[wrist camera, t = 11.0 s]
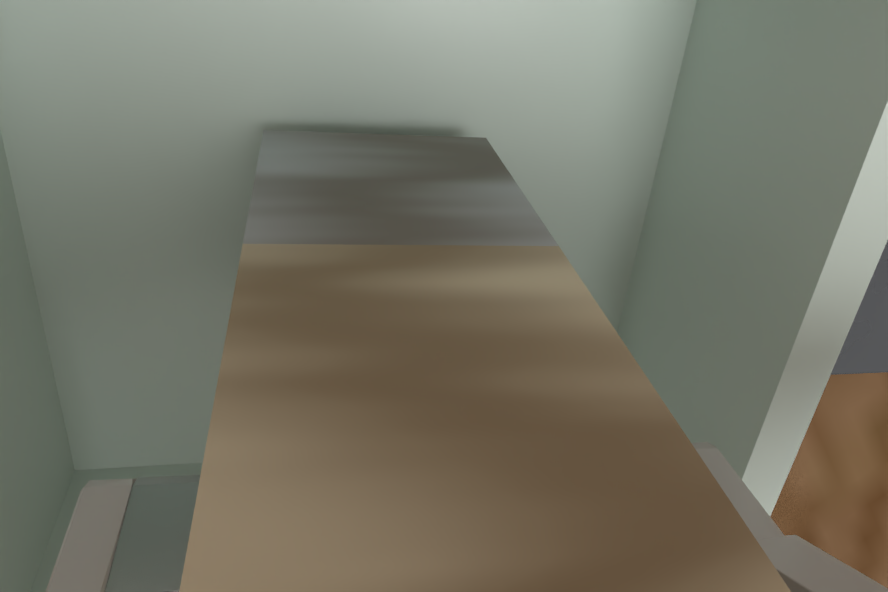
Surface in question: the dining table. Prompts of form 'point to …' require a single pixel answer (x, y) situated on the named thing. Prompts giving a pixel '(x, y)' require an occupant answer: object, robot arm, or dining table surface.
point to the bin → (429, 114)
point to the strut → (437, 398)
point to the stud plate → (868, 328)
